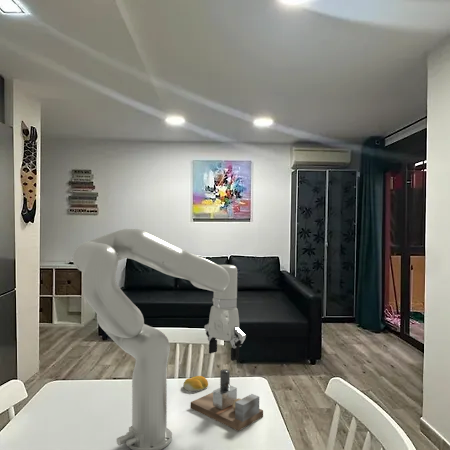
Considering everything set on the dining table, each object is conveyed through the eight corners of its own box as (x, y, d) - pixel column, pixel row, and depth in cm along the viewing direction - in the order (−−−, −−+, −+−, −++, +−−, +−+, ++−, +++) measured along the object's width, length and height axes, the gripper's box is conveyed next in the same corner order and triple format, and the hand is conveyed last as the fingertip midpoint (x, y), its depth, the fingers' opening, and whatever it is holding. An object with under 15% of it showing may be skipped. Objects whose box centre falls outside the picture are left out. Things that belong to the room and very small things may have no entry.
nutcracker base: (238, 431, 118) (238, 407, 118) (190, 408, 132) (190, 387, 132) (263, 416, 127) (263, 394, 127) (215, 396, 141) (215, 376, 141)
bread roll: (212, 387, 150) (212, 376, 150) (194, 394, 143) (194, 383, 143) (197, 380, 155) (197, 370, 155) (179, 387, 149) (179, 377, 149)
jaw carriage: (222, 409, 126) (222, 375, 126) (212, 405, 129) (213, 372, 128) (236, 402, 131) (236, 369, 131) (227, 398, 134) (227, 366, 134)
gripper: (198, 300, 132) (196, 352, 132) (237, 308, 121) (236, 365, 121) (214, 298, 138) (212, 347, 138) (253, 305, 126) (251, 360, 126)
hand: (223, 356), depth 129 cm, fingers open, 9 cm apart
